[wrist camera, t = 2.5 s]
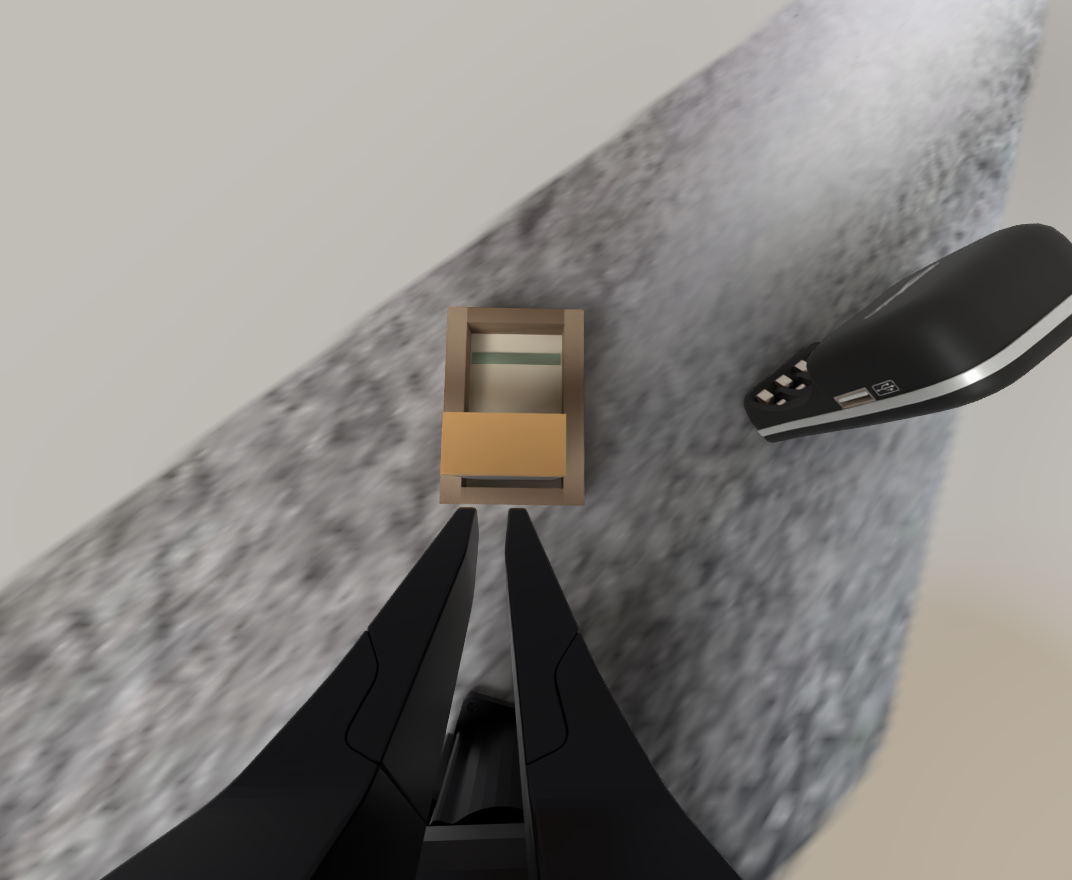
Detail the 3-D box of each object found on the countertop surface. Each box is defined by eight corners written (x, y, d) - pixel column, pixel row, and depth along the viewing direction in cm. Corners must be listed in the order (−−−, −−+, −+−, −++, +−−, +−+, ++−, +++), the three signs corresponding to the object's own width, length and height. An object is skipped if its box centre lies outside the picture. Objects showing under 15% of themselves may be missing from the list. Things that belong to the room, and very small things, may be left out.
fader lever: (552, 480, 20) (566, 475, 13) (475, 479, 20) (440, 473, 12) (552, 442, 21) (566, 413, 13) (476, 441, 21) (442, 411, 13)
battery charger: (809, 328, 24) (1068, 179, 12) (852, 377, 23) (1159, 271, 12) (721, 396, 23) (907, 306, 12) (763, 448, 23) (998, 407, 11)
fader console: (576, 503, 22) (584, 505, 19) (451, 501, 22) (439, 503, 19) (577, 332, 23) (583, 309, 20) (458, 330, 23) (447, 306, 20)
